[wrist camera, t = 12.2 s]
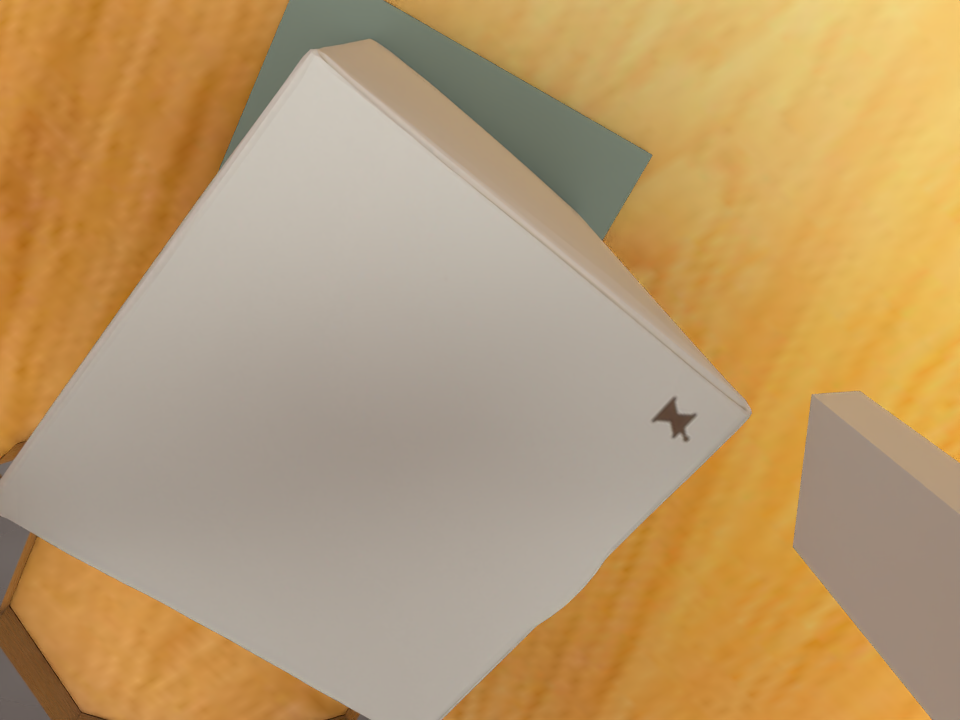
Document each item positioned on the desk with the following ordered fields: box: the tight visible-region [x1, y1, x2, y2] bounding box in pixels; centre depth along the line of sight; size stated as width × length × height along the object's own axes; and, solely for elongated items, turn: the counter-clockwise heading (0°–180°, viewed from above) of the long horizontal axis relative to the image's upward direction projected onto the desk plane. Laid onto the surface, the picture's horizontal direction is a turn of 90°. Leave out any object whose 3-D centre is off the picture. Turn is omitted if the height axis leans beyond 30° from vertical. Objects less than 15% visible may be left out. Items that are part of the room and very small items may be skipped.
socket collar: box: [0, 441, 371, 720], centre depth 31 cm, size 21×18×2 cm
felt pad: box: [218, 0, 652, 240], centre depth 26 cm, size 12×12×1 cm
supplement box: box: [0, 39, 751, 720], centre depth 19 cm, size 9×9×15 cm
